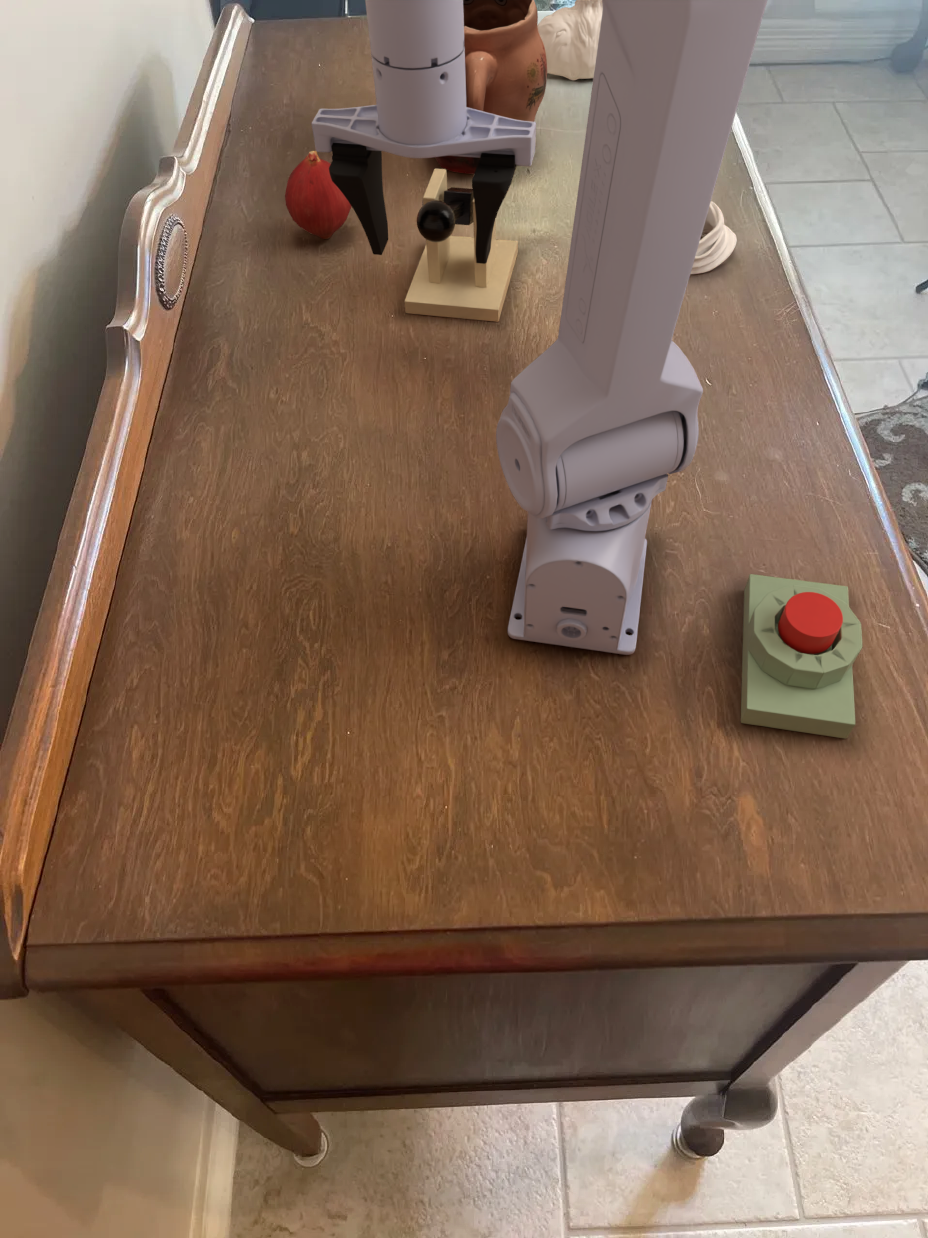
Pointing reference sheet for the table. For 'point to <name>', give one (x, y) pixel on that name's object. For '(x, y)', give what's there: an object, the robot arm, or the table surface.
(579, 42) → the bust
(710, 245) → the beige draped scarf
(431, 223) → the lever
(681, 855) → the table surface
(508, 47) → the decorative planter
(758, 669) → the button block
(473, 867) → the table surface
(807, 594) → the button
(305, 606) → the table surface
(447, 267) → the beige wooden stand
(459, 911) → the table surface
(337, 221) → the red squash
